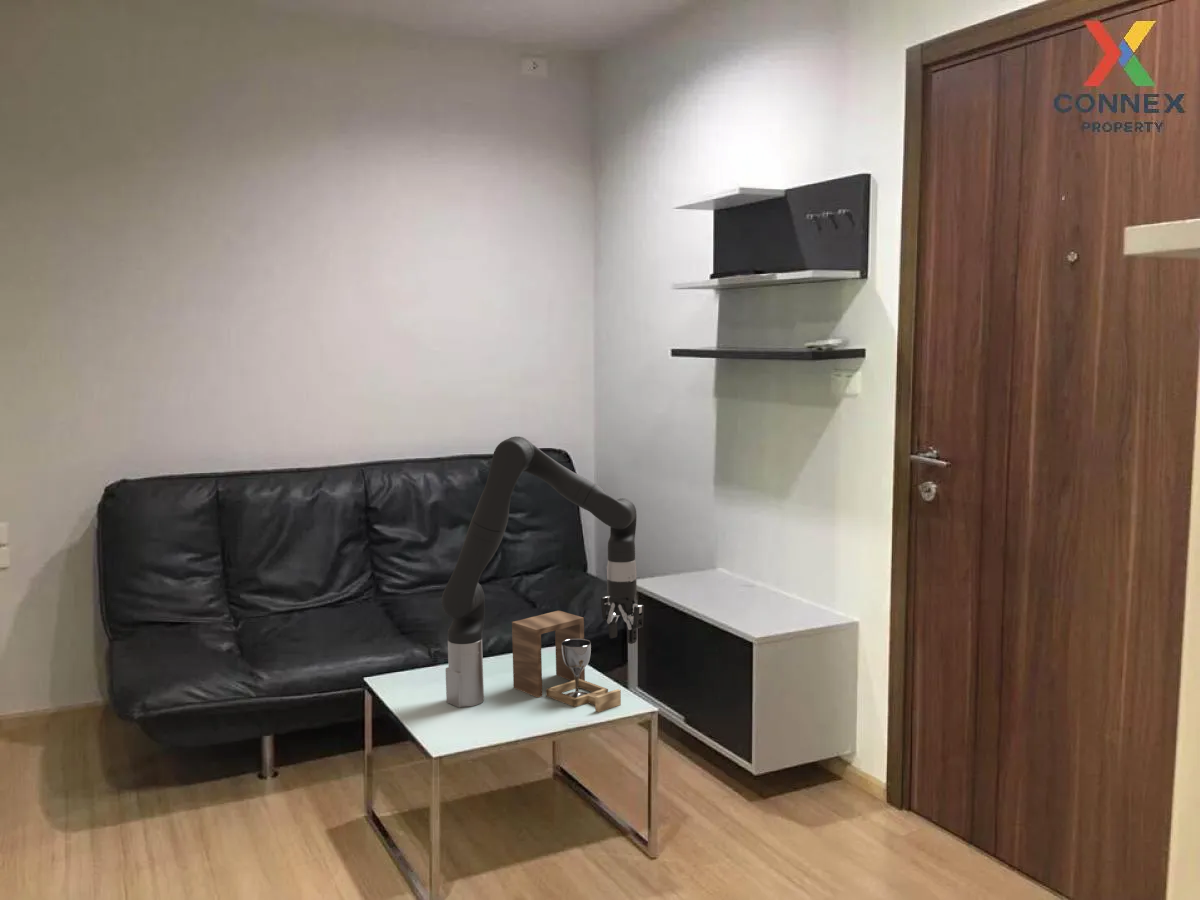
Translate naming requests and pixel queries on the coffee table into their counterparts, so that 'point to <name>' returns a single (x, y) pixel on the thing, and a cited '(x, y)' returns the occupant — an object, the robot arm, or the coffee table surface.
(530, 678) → the wooden arch frame
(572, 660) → the wine glass
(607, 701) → the drawer
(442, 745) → the coffee table surface
